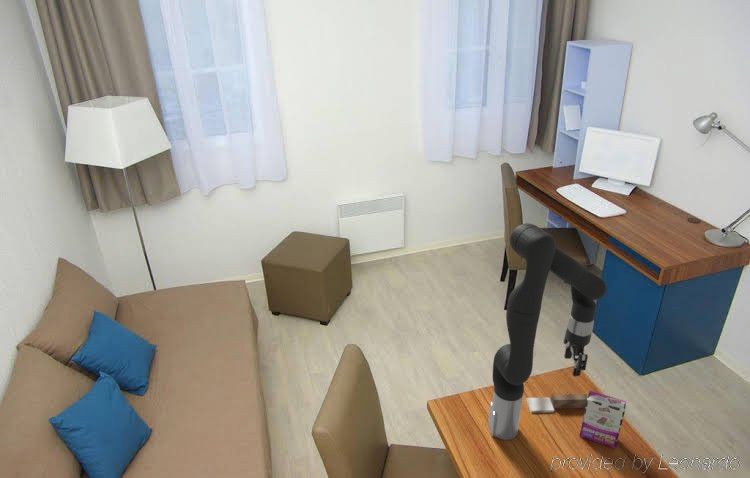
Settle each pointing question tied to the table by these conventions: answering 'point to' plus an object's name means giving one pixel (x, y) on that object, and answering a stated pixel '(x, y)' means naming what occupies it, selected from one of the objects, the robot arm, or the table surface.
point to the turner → (557, 402)
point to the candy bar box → (602, 419)
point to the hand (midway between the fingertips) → (571, 366)
